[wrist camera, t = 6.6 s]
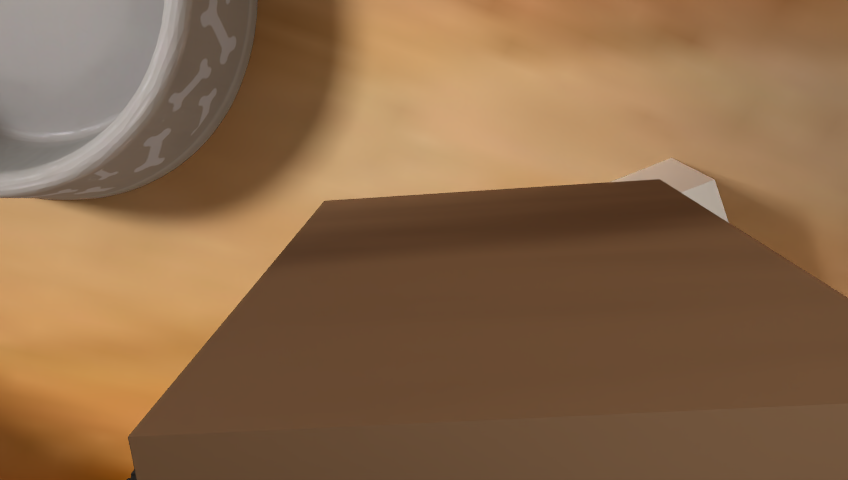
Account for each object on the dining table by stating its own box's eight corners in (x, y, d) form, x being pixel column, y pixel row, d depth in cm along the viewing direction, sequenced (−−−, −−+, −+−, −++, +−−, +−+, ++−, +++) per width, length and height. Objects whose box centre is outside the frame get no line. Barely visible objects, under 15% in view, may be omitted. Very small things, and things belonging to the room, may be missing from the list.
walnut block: (324, 200, 13) (127, 437, 5) (659, 178, 12) (1004, 396, 5) (356, 487, 14) (245, 1004, 7) (655, 475, 14) (907, 1004, 6)
